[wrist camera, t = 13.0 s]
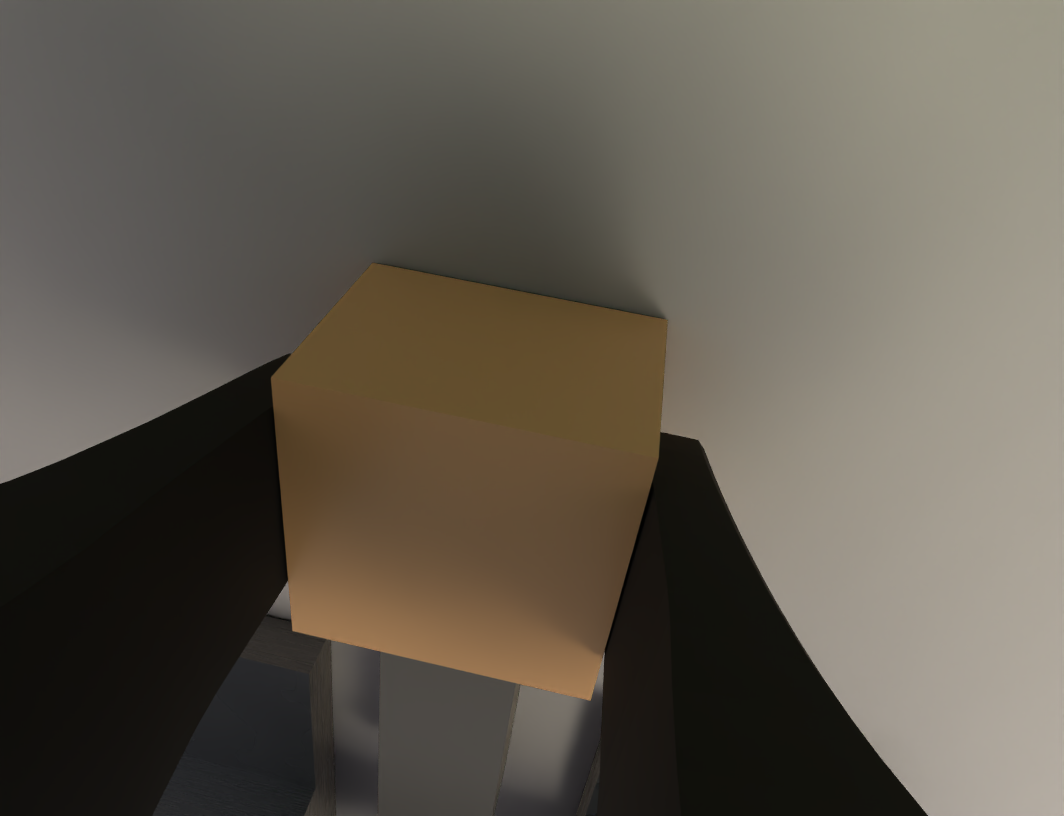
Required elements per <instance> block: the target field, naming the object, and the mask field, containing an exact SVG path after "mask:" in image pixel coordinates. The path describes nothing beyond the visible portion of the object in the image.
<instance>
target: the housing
mask: <svg viewBox="0 0 1064 816" xmlns="http://www.w3.org/2000/svg"><path fill="white" fill-rule="evenodd" d="M600 752H601V739H600V742H599V745H598V748H597V751H596V755H595V758H594V761H593V764H592V767H591V770H590V773H589V776H588V779H587V782H586V786H585V789H584V792H583V795H582V798H581V801H580V804H579V807H578V810H577V813H576V816H597V805H598V793H599V776H600ZM152 816H336V803H335V771H334V738H333V705H332V672H331V640H329V639H325V638H320V637H316V636H312V635H308V634H303V633H299V632H295V631H292V622H289V621H285V620H281V619H277V618H273V617H268V616H265V617H264V619H263V621H262V622H261V624H260V625H259V627H258V628H257V630H256V632H255V633H254V635H253V636H252V638H251V639H250V641H249V643H248V644H247V646H246V647H245V649H244V650H243V652H242V654H241V655H240V657H239V658H238V660H237V661H236V663H235V665H234V666H233V668H232V669H231V671H230V672H229V674H228V675H227V677H226V679H225V680H224V682H223V683H222V685H221V686H220V688H219V690H218V691H217V693H216V695H215V696H214V698H213V700H212V702H211V703H210V705H209V707H208V708H207V710H206V712H205V714H204V715H203V717H202V719H201V720H200V722H199V724H198V726H197V728H196V730H195V732H194V733H193V735H192V737H191V739H190V741H189V743H188V745H187V747H186V749H185V751H184V753H183V755H182V757H181V759H180V761H179V763H178V765H177V767H176V769H175V771H174V773H173V775H172V777H171V779H170V781H169V783H168V785H167V787H166V789H165V791H164V793H163V795H162V797H161V799H160V801H159V803H158V805H157V807H156V809H155V811H154V813H153V815H152Z"/></svg>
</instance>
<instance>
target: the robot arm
mask: <svg viewBox="0 0 1064 816" xmlns="http://www.w3.org/2000/svg"><path fill="white" fill-rule="evenodd" d="M290 355H291V354H287V355H285V356H282V357H280V358H278V359H275V360H273V361H271V362H269V363H267V364H265V365H263V366H261V367H258V368H256V369H254V370H252V371H250V372H248V373H246V374H244V375H242V376H240V377H238V378H236V379H234V380H232V381H230V382H228V383H226V384H224V385H222V386H220V387H218V388H216V389H214V390H212V391H210V392H208V393H206V394H204V395H202V396H200V397H198V398H196V399H194V400H192V401H190V402H188V403H186V404H184V405H182V406H180V407H178V408H176V409H174V410H172V411H170V412H168V413H166V414H164V415H161V416H159V417H157V418H155V419H153V420H151V421H149V422H147V423H145V424H143V425H140V426H138V427H136V428H134V429H131V430H129V431H127V432H125V433H122V434H120V435H118V436H115V437H113V438H111V439H109V440H106V441H104V442H102V443H100V444H97V445H95V446H93V447H91V448H88V449H86V450H84V451H82V452H79V453H77V454H75V455H73V456H70V457H68V458H66V459H63V460H61V461H59V462H56V463H54V464H51V465H49V466H46V467H44V468H41V469H39V470H36V471H34V472H31V473H28V474H26V475H23V476H21V477H18V478H15V479H13V480H10V481H8V482H5V483H2V484H0V816H152V815H153V813H154V811H155V809H156V807H157V805H158V803H159V801H160V799H161V797H162V795H163V793H164V791H165V789H166V787H167V785H168V783H169V781H170V779H171V777H172V775H173V773H174V771H175V769H176V767H177V765H178V763H179V761H180V759H181V757H182V755H183V753H184V751H185V749H186V747H187V745H188V743H189V741H190V739H191V737H192V735H193V733H194V732H195V730H196V728H197V726H198V724H199V722H200V720H201V719H202V717H203V715H204V714H205V712H206V710H207V708H208V707H209V705H210V703H211V702H212V700H213V698H214V696H215V695H216V693H217V691H218V690H219V688H220V686H221V685H222V683H223V682H224V680H225V679H226V677H227V675H228V674H229V672H230V671H231V669H232V668H233V666H234V665H235V663H236V661H237V660H238V658H239V657H240V655H241V654H242V652H243V650H244V649H245V647H246V646H247V644H248V643H249V641H250V639H251V638H252V636H253V635H254V633H255V632H256V630H257V628H258V627H259V625H260V624H261V622H262V621H263V619H264V617H265V616H266V614H267V613H268V611H269V610H270V608H271V607H272V605H273V603H274V602H275V600H276V599H277V597H278V595H279V594H280V592H281V591H282V589H283V588H284V586H285V584H286V583H287V581H288V572H287V561H286V549H285V537H284V526H283V514H282V502H281V490H280V479H279V467H278V455H277V444H276V432H275V420H274V409H273V397H272V385H271V377H272V376H273V375H274V374H275V372H276V371H277V370H278V369H279V368H280V367H281V366H282V364H283V363H284V362H285V361H286V360H287V359H288V358H289V357H290ZM597 816H928V815H927V814H926V813H925V811H924V810H923V809H922V808H921V807H920V805H919V804H918V803H917V802H916V800H915V799H914V798H913V797H912V796H911V794H910V793H909V792H908V791H907V790H906V788H905V787H904V786H903V785H902V783H901V782H900V781H899V780H898V779H897V777H896V776H895V775H894V774H893V772H892V771H891V770H890V769H889V768H888V766H887V765H886V764H885V763H884V762H883V760H882V759H881V758H880V757H879V755H878V754H877V753H876V751H875V750H874V749H873V747H872V746H871V745H870V743H869V742H868V741H867V739H866V738H865V737H864V735H863V734H862V733H861V731H860V730H859V729H858V727H857V726H856V725H855V723H854V722H853V721H852V719H851V718H850V716H849V715H848V713H847V712H846V710H845V709H844V708H843V706H842V705H841V703H840V702H839V700H838V699H837V698H836V696H835V695H834V693H833V692H832V690H831V689H830V688H829V686H828V685H827V683H826V682H825V680H824V679H823V677H822V676H821V674H820V673H819V671H818V670H817V668H816V667H815V665H814V664H813V662H812V660H811V659H810V657H809V656H808V654H807V653H806V651H805V649H804V648H803V646H802V645H801V643H800V641H799V640H798V638H797V636H796V635H795V633H794V631H793V630H792V628H791V626H790V625H789V623H788V621H787V620H786V618H785V616H784V615H783V613H782V611H781V609H780V608H779V606H778V604H777V603H776V601H775V599H774V597H773V595H772V594H771V592H770V590H769V588H768V586H767V585H766V583H765V581H764V579H763V577H762V575H761V573H760V571H759V570H758V568H757V566H756V564H755V562H754V560H753V558H752V556H751V554H750V552H749V550H748V548H747V546H746V544H745V542H744V540H743V538H742V536H741V534H740V532H739V530H738V528H737V526H736V524H735V522H734V520H733V517H732V515H731V513H730V511H729V509H728V506H727V504H726V502H725V500H724V497H723V495H722V493H721V490H720V488H719V486H718V483H717V481H716V479H715V476H714V474H713V471H712V469H711V466H710V463H709V461H708V458H707V456H706V453H705V450H704V448H703V447H702V445H701V444H700V442H699V441H698V440H695V439H691V438H686V437H681V436H676V435H672V434H667V433H662V432H660V444H659V459H658V462H657V466H656V469H655V473H654V476H653V480H652V483H651V487H650V491H649V494H648V498H647V501H646V505H645V508H644V512H643V516H642V519H641V523H640V526H639V530H638V533H637V537H636V540H635V544H634V548H633V551H632V555H631V558H630V562H629V565H628V569H627V572H626V576H625V580H624V583H623V587H622V590H621V594H620V597H619V601H618V604H617V608H616V612H615V615H614V619H613V622H612V626H611V629H610V633H609V637H608V640H607V644H606V647H605V657H604V679H603V703H602V728H601V752H600V776H599V793H598V805H597Z"/></svg>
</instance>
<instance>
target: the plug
mask: <svg viewBox="0 0 1064 816" xmlns="http://www.w3.org/2000/svg"><path fill="white" fill-rule="evenodd" d="M667 323H668V320H665V319H660V318H655V317H650V316H645V315H640V314H634V313H629V312H624V311H619V310H614V309H609V308H603V307H598V306H593V305H588V304H583V303H578V302H573V301H567V300H562V299H557V298H552V297H547V296H542V295H536V294H531V293H526V292H521V291H516V290H511V289H506V288H500V287H495V286H490V285H485V284H480V283H475V282H470V281H464V280H459V279H454V278H449V277H444V276H439V275H433V274H428V273H423V272H418V271H413V270H408V269H403V268H397V267H392V266H387V265H382V264H377V263H372V264H371V265H370V266H369V267H368V269H367V270H366V271H365V272H364V273H363V274H362V275H361V276H360V278H359V279H358V280H357V281H356V282H355V283H354V284H353V285H352V287H351V288H350V289H349V290H348V291H347V292H346V293H345V294H344V296H343V297H342V298H341V299H340V300H339V301H338V302H337V304H336V305H335V306H334V307H333V308H332V309H331V310H330V311H329V313H328V314H327V315H326V316H325V317H324V318H323V319H322V320H321V322H320V323H319V324H318V325H317V326H316V327H315V328H314V329H313V331H312V332H311V333H310V334H309V335H308V336H307V337H306V339H305V340H304V341H303V342H302V343H301V344H300V345H299V346H298V348H297V349H296V350H295V351H294V352H293V353H292V354H291V355H290V357H289V358H288V359H287V360H286V361H285V362H284V363H283V364H282V366H281V367H280V368H279V369H278V370H277V371H276V372H275V374H274V375H273V376H272V377H271V385H272V397H273V409H274V420H275V432H276V444H277V455H278V467H279V479H280V490H281V502H282V514H283V526H284V537H285V549H286V561H287V572H288V584H289V596H290V607H291V619H292V631H295V632H299V633H303V634H308V635H312V636H316V637H320V638H325V639H329V640H333V641H337V642H342V643H346V644H350V645H355V646H359V647H363V648H367V649H372V650H376V651H380V695H379V757H378V816H494V814H495V809H496V805H497V800H498V796H499V791H500V787H501V782H502V778H503V773H504V768H505V764H506V759H507V753H508V748H509V743H510V737H511V732H512V727H513V722H514V716H515V711H516V706H517V700H518V695H519V690H520V685H526V686H530V687H534V688H538V689H543V690H547V691H551V692H556V693H560V694H564V695H568V696H573V697H577V698H581V699H586V700H590V701H591V697H592V693H593V690H594V686H595V683H596V679H597V676H598V672H599V669H600V665H601V661H602V658H603V654H604V651H605V647H606V644H607V640H608V637H609V633H610V629H611V626H612V622H613V619H614V615H615V612H616V608H617V604H618V601H619V597H620V594H621V590H622V587H623V583H624V580H625V576H626V572H627V569H628V565H629V562H630V558H631V555H632V551H633V548H634V544H635V540H636V537H637V533H638V530H639V526H640V523H641V519H642V516H643V512H644V508H645V505H646V501H647V498H648V494H649V491H650V487H651V483H652V480H653V476H654V473H655V469H656V466H657V462H658V459H659V444H660V429H661V414H662V399H663V384H664V368H665V353H666V338H667Z"/></svg>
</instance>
